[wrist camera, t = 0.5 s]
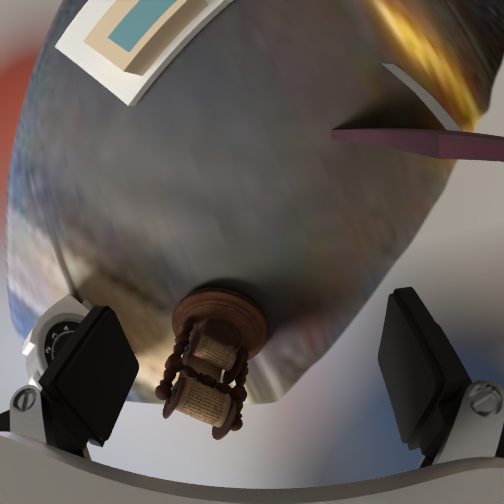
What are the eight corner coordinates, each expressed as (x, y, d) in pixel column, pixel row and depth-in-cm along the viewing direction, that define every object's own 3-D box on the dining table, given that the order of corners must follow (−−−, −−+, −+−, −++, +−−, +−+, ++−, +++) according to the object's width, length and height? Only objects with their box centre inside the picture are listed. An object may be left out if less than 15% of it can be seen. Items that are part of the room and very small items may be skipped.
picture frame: (332, 139, 33) (439, 179, 10) (321, 63, 29) (406, -27, 6) (444, 138, 31) (590, 185, 8) (437, 69, 27) (582, 57, 4)
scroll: (163, 326, 47) (120, 421, 29) (202, 264, 42) (156, 368, 24) (236, 365, 50) (221, 463, 32) (286, 313, 44) (289, 425, 26)
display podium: (149, -51, 21) (144, -57, 19) (239, -5, 25) (237, -11, 23) (62, 48, 28) (54, 46, 26) (134, 105, 32) (128, 105, 31)
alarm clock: (145, 347, 50) (105, 435, 32) (122, 361, 53) (84, 439, 35) (75, 279, 45) (8, 353, 27) (59, 300, 47) (0, 368, 29)
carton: (164, -20, 23) (150, -35, 18) (208, 5, 25) (198, -10, 20) (103, 47, 27) (83, 41, 22) (142, 76, 29) (123, 71, 24)
